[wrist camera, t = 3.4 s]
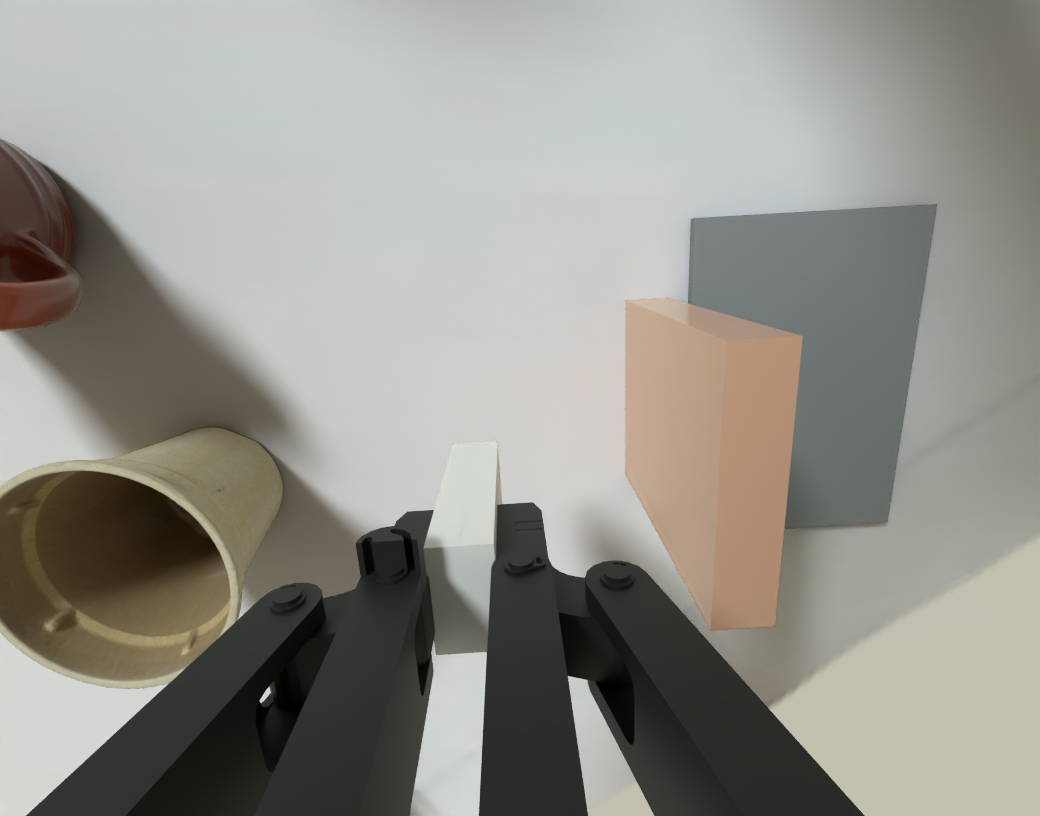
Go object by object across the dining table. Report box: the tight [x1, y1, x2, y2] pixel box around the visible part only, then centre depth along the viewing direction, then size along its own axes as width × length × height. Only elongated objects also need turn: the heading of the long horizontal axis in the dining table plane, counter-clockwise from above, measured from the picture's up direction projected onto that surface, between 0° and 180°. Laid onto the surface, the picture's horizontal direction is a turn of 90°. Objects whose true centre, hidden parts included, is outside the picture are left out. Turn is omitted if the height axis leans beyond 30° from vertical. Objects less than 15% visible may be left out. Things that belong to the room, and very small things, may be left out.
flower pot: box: [0, 428, 283, 689], centre depth 23 cm, size 9×9×9 cm
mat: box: [688, 204, 937, 529], centre depth 26 cm, size 16×11×1 cm
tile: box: [625, 298, 803, 631], centre depth 21 cm, size 9×2×12 cm, turn 3°
